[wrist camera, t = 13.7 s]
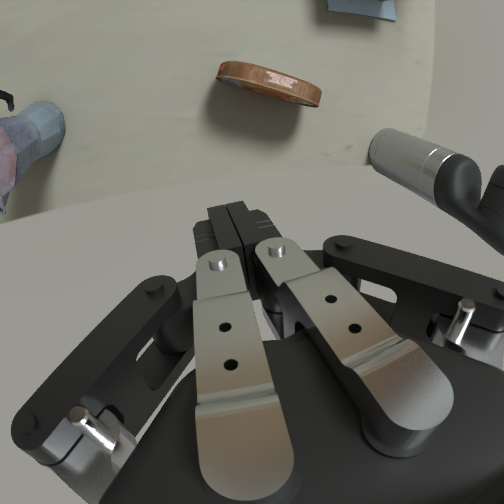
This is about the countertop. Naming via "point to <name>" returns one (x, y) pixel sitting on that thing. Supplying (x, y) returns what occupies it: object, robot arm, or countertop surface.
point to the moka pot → (26, 141)
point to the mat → (365, 8)
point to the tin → (269, 83)
